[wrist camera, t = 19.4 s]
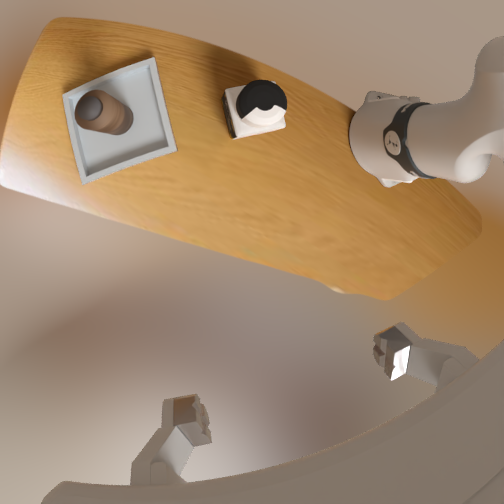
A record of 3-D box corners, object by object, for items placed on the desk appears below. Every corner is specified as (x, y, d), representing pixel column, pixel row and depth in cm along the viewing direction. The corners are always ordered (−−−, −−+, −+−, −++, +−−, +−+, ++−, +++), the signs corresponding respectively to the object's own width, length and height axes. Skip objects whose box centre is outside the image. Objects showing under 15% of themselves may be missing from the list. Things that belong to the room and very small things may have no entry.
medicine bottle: (220, 98, 40) (228, 79, 28) (263, 90, 40) (285, 70, 29) (230, 140, 42) (242, 134, 31) (273, 131, 43) (299, 123, 32)
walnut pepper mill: (129, 100, 36) (103, 80, 24) (136, 128, 38) (111, 118, 25) (101, 111, 36) (66, 98, 23) (108, 139, 38) (73, 135, 25)
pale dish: (156, 61, 35) (154, 57, 33) (178, 151, 41) (176, 150, 39) (68, 97, 34) (62, 94, 32) (88, 183, 40) (82, 185, 37)
